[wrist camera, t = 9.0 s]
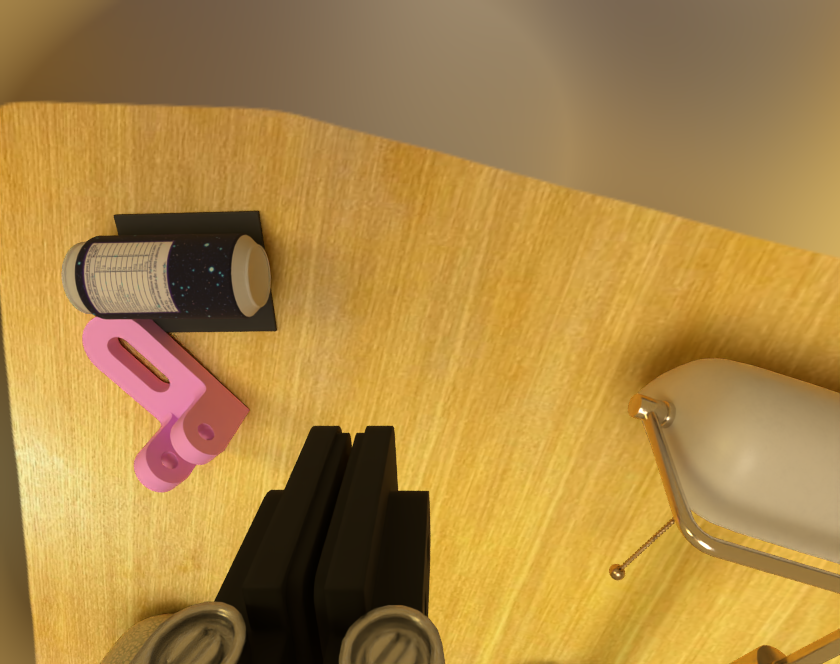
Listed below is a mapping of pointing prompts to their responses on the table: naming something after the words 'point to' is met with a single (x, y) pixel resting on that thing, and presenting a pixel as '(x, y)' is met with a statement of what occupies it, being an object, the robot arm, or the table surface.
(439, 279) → the table surface
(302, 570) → the robot arm
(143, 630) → the planter
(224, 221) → the rubber mat
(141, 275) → the beverage can
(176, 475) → the bracket
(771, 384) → the lamp
